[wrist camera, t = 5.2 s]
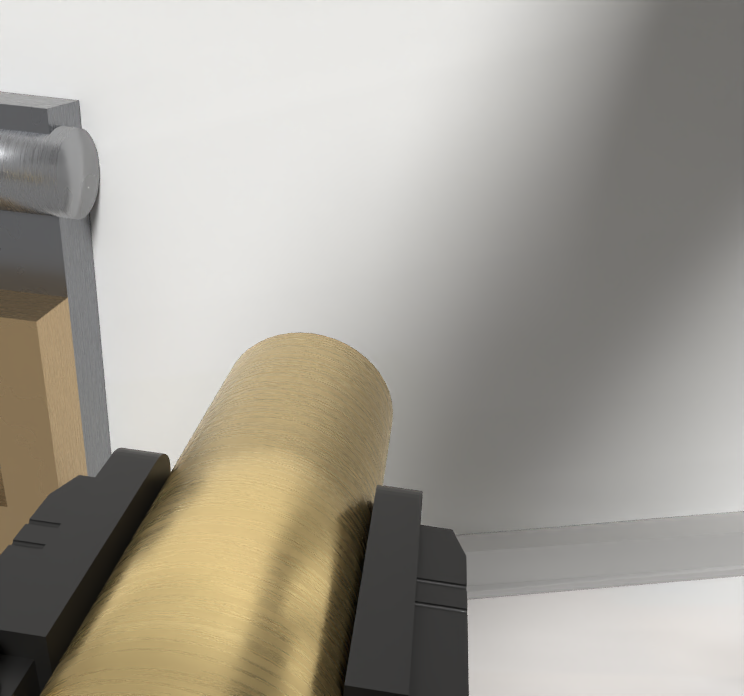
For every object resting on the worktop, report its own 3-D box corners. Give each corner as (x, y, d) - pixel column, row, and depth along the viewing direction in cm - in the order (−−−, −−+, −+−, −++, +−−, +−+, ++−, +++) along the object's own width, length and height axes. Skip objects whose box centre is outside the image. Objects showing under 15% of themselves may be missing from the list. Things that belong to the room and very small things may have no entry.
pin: (224, 322, 13) (-396, 1215, 4) (401, 345, 13) (246, 1349, 3) (224, 466, 15) (-207, 1357, 5) (383, 488, 15) (243, 1455, 5)
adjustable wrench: (359, 582, 31) (354, 614, 30) (338, 462, 28) (331, 489, 27) (992, 571, 28) (1025, 606, 26) (1037, 431, 25) (1077, 460, 23)
